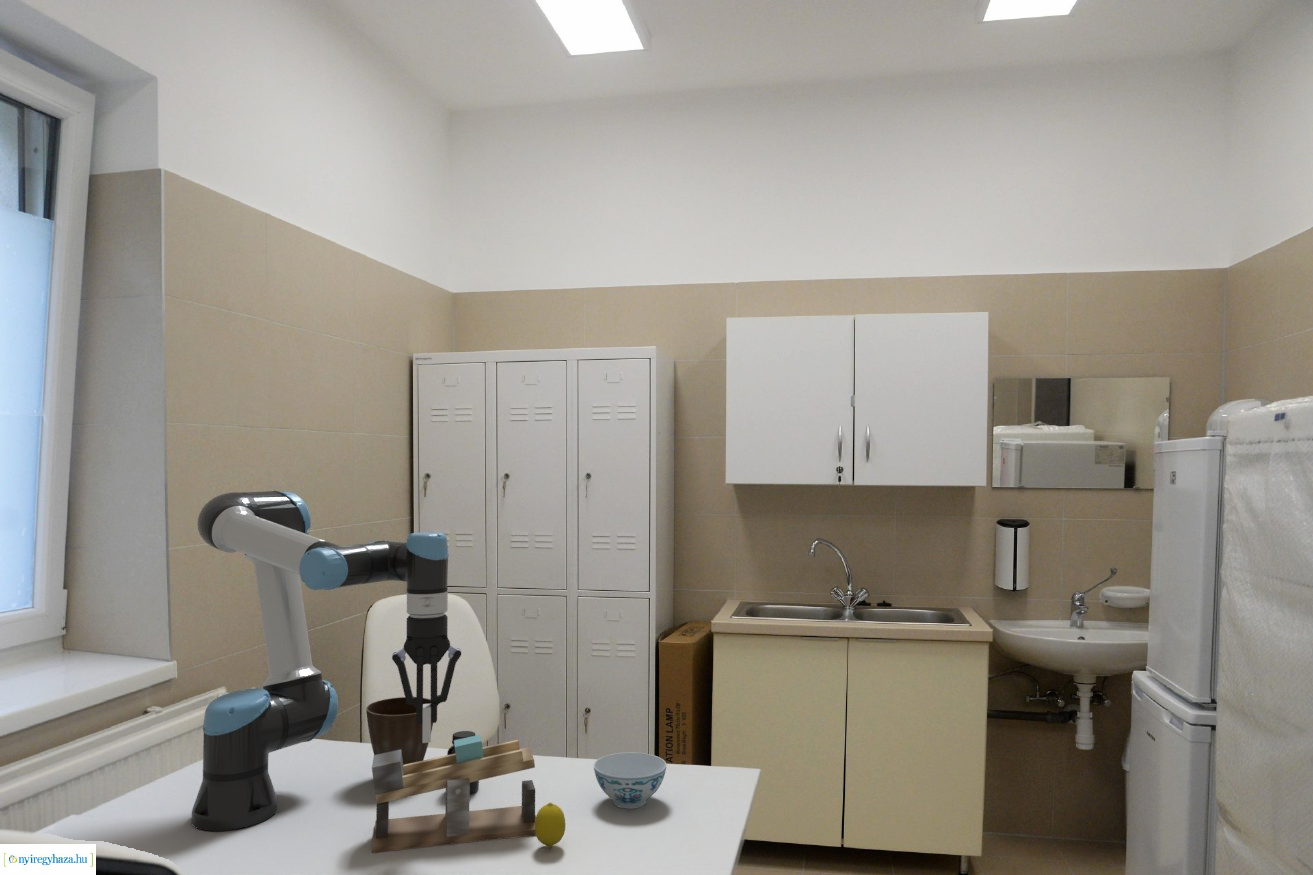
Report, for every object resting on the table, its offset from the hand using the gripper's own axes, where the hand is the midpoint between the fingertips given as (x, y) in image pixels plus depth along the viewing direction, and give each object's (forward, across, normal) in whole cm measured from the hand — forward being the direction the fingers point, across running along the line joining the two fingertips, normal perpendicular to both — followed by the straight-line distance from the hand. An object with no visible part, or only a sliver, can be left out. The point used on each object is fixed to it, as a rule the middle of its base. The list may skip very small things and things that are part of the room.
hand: (426, 740), depth 162 cm
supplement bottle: (+18, +8, +20) cm, 28 cm away
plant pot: (+17, -5, +31) cm, 36 cm away
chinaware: (+18, +41, +5) cm, 45 cm away
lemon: (+18, +22, -12) cm, 30 cm away
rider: (+6, +8, 0) cm, 10 cm away
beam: (+8, +6, 0) cm, 10 cm away
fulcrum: (+17, +6, 0) cm, 18 cm away
